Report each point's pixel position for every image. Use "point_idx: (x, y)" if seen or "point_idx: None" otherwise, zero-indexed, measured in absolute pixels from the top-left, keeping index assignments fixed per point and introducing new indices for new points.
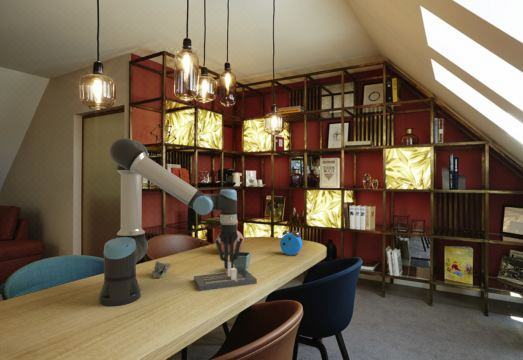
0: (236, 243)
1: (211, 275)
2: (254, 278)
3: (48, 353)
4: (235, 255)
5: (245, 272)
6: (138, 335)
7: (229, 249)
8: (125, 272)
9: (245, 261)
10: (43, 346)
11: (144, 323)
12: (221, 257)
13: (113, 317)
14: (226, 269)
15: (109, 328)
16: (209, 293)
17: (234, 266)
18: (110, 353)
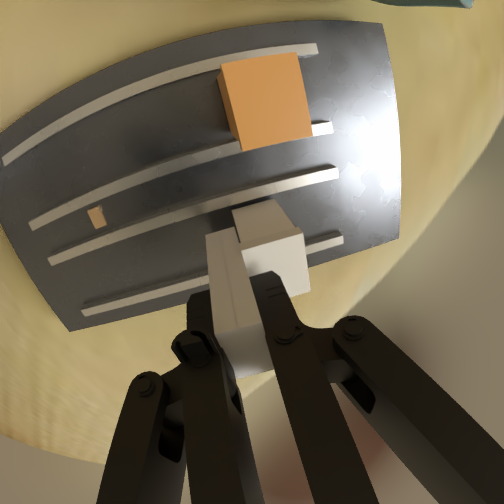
0: (479, 500)
1: (71, 125)
2: (393, 224)
3: (27, 443)
4: (356, 405)
5: (372, 75)
6: (88, 449)
7: (309, 485)
8: None
9: (424, 3)
10: (9, 433)
11: (68, 433)
12: (164, 444)
13: (3, 405)
14: (208, 264)
15: (32, 429)
16: (132, 341)
17: (306, 135)
18: (87, 460)
